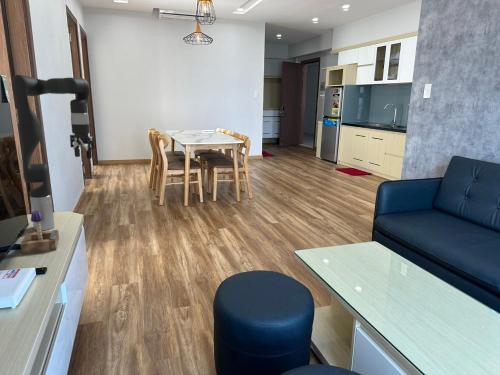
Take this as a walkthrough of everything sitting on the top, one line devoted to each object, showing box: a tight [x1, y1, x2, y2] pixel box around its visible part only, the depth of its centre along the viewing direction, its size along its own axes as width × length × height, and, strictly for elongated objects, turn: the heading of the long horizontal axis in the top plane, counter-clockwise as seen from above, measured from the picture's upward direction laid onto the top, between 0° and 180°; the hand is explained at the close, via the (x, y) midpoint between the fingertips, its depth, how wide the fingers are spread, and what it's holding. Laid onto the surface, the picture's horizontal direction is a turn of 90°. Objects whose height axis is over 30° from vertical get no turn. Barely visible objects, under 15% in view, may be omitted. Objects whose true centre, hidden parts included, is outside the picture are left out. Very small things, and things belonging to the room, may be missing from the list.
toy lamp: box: [30, 211, 43, 240], centre depth 156 cm, size 5×5×17 cm
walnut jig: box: [20, 229, 60, 255], centre depth 158 cm, size 13×13×5 cm
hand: (83, 157), depth 166 cm, fingers open, 8 cm apart
